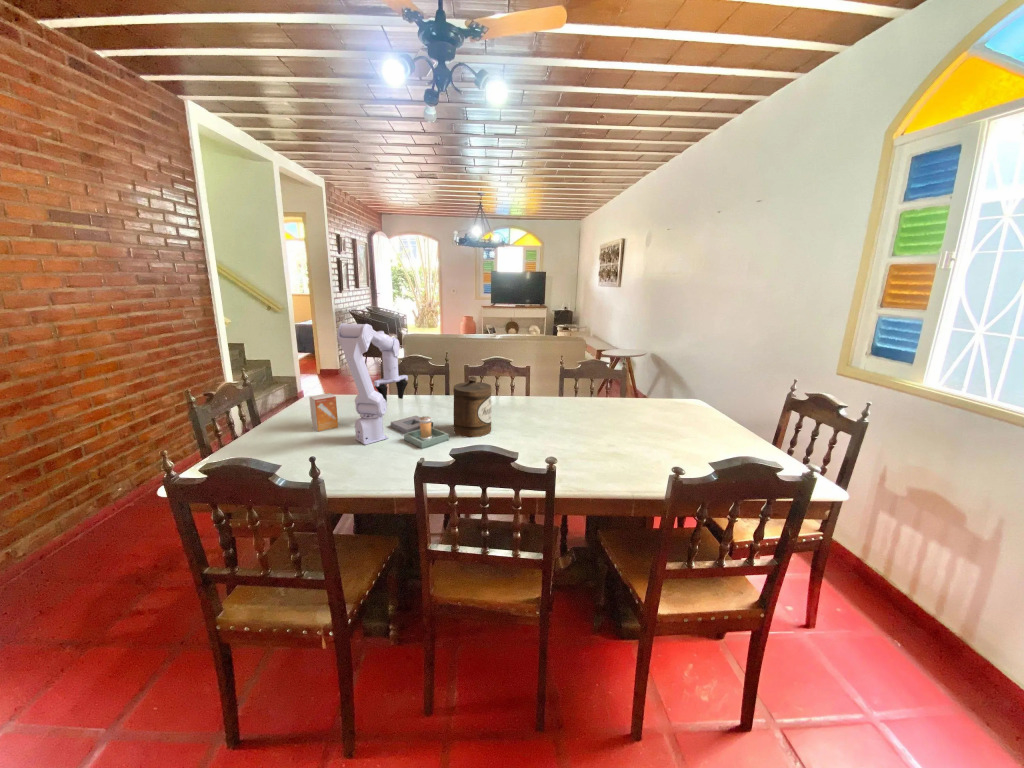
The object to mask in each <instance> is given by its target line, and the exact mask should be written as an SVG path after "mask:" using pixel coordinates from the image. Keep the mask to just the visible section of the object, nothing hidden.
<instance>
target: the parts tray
mask: <svg viewBox="0 0 1024 768" xmlns="http://www.w3.org/2000/svg"><path fill="white" fill-rule="evenodd" d="M431 433H432V438H431V439H428V440H425V441H422V440H420V436H421V435H420V429H419V430H415V431H412V432H408V433H403V437H404V438H403V440H404V441H406V442H407V443H409V444H411V445H414V446H415V447H417V448H420V449H421V450H424V449H428V448H430V447H432V446H433V447H434V446H436V445H439V444H442V443H445V442H449V440H450V439H449V438H450V437H449V436H450V435H449V433H447V432H445V431H442V430H440V429H437V428H435V427H434V426H433V427H431Z"/></svg>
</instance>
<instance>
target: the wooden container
mask: <svg viewBox="0 0 1024 768" xmlns="http://www.w3.org/2000/svg"><path fill="white" fill-rule="evenodd" d="M453 432H454V434H455V435H457V436H460V437H464V438H478V437H483V436H486V435H488V434H490V433H491V432H492V385H491V384H489V383H486V382H481V381H479V382H478V381H477V377H476V376H474V375H472V376H469V377H468V378H467V381H465V382H460V383H456V384H454V386H453Z"/></svg>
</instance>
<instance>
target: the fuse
mask: <svg viewBox="0 0 1024 768" xmlns="http://www.w3.org/2000/svg"><path fill="white" fill-rule="evenodd" d="M431 422H432V417H431V416H421V418H420V435H421V436H420V440H422V441H425V440H428V439H431V438H432V433H431Z"/></svg>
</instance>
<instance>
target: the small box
mask: <svg viewBox="0 0 1024 768" xmlns="http://www.w3.org/2000/svg"><path fill="white" fill-rule="evenodd" d="M308 397H309V407H310V408H309V409H310V416H311V417H310V418H311V426H312V428H313V429H314V430H316V431H317V432H319V433H320V432H322V431H323V432H324V431H326V430H331V429H336V428H339V418H338V406H337V397H336V395H335V394H333V393H331V392H329V393H322V394H317V395H312V396H311V395H310V396H308Z"/></svg>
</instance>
